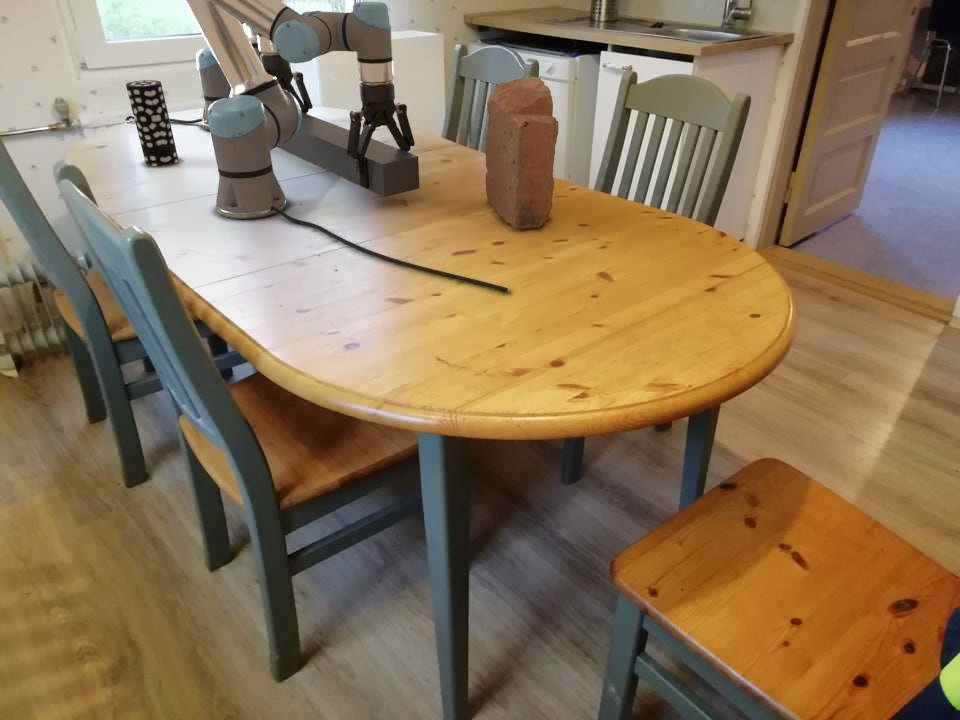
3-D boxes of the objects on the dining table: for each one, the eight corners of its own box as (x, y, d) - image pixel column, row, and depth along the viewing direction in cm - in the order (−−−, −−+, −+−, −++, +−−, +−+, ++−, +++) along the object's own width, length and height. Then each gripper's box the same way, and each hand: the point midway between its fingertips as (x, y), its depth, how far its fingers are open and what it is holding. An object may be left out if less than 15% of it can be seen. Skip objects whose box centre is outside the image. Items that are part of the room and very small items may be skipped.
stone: (564, 226, 149) (572, 89, 135) (516, 232, 146) (519, 92, 132) (527, 198, 167) (531, 73, 153) (483, 203, 164) (483, 76, 149)
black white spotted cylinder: (184, 157, 190) (167, 80, 179) (169, 166, 183) (151, 87, 172) (155, 156, 190) (136, 79, 179) (139, 165, 183) (119, 86, 172)
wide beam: (419, 188, 160) (418, 156, 156) (384, 197, 155) (382, 164, 151) (290, 133, 201) (286, 106, 196) (258, 138, 195) (254, 111, 191)
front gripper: (408, 73, 159) (413, 169, 171) (322, 85, 146) (334, 188, 158) (428, 78, 154) (431, 176, 166) (341, 91, 142) (351, 196, 154)
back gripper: (305, 47, 189) (315, 129, 201) (227, 55, 177) (242, 143, 189) (319, 50, 185) (328, 135, 197) (240, 59, 172) (255, 149, 184)
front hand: (383, 182), depth 162 cm, fingers closed on wide beam, 10 cm apart
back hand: (286, 139), depth 193 cm, fingers closed on wide beam, 10 cm apart
